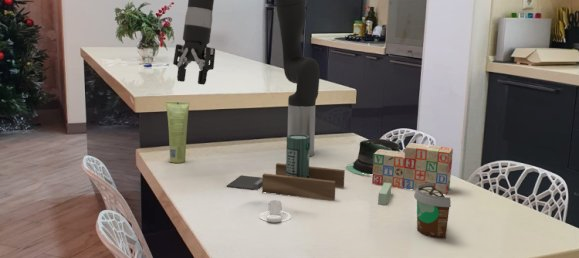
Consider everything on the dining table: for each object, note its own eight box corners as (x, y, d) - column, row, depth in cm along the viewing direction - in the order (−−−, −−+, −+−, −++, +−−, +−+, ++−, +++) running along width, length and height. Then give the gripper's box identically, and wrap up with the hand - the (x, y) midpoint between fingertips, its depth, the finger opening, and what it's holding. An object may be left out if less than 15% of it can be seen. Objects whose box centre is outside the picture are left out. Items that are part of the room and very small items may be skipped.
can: (312, 189, 169) (313, 136, 166) (297, 193, 165) (299, 140, 162) (296, 184, 173) (297, 133, 170) (281, 188, 169) (282, 136, 166)
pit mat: (241, 176, 180) (241, 171, 179) (270, 179, 177) (270, 174, 177) (226, 187, 169) (226, 181, 169) (257, 190, 167) (257, 185, 166)
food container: (405, 221, 145) (408, 181, 143) (430, 221, 146) (433, 181, 144) (420, 241, 133) (423, 198, 131) (447, 241, 134) (451, 198, 132)
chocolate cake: (421, 164, 194) (400, 181, 178) (373, 183, 204) (348, 200, 188) (402, 122, 195) (378, 135, 178) (354, 142, 205) (328, 156, 188)
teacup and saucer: (278, 227, 141) (278, 210, 140) (250, 220, 145) (250, 204, 144) (297, 216, 148) (298, 200, 148) (270, 210, 153) (270, 194, 152)
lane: (277, 179, 177) (277, 163, 176) (344, 186, 172) (344, 169, 171) (262, 192, 165) (262, 174, 164) (333, 200, 159) (334, 182, 158)
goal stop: (383, 193, 167) (384, 182, 166) (390, 193, 166) (391, 183, 166) (377, 204, 158) (378, 193, 157) (385, 205, 157) (386, 194, 156)
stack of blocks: (371, 184, 175) (373, 143, 173) (377, 178, 181) (379, 138, 178) (446, 195, 167) (449, 152, 164) (450, 189, 172) (453, 147, 170)
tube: (182, 158, 198) (181, 99, 194) (190, 161, 195) (189, 101, 191) (166, 161, 195) (165, 101, 191) (174, 164, 191) (173, 103, 187)
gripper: (225, 28, 168) (217, 86, 169) (190, 26, 177) (184, 81, 178) (205, 24, 162) (198, 84, 164) (171, 22, 171) (164, 79, 172)
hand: (190, 82), depth 171 cm, fingers open, 8 cm apart
